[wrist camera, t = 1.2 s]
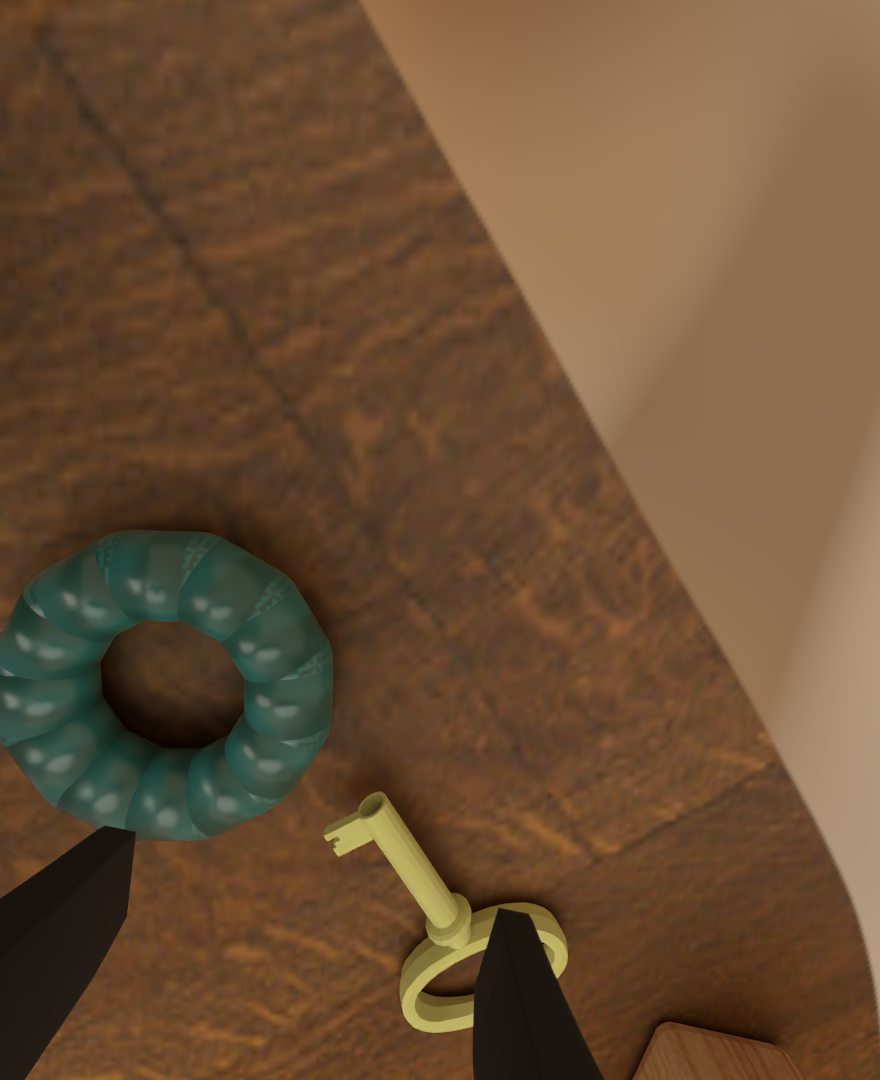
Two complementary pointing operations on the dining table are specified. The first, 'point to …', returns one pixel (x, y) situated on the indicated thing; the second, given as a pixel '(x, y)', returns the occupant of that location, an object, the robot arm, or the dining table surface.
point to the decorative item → (711, 1057)
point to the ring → (95, 730)
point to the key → (435, 916)
